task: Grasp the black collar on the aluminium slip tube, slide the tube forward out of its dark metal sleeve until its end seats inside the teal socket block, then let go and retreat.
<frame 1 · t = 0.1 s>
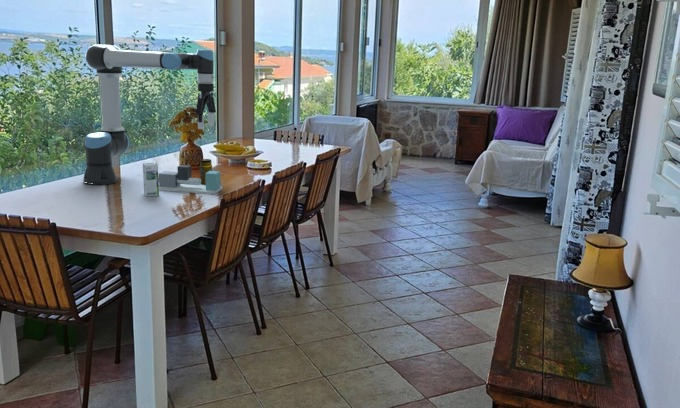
hand: (206, 127, 288), 28 cm above the table, fingers open, 13 cm apart
syrup box: (151, 195, 268), on the table
slip tube: (177, 174, 281), point 7 cm above the table, slide at 0.0 cm
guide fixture: (189, 189, 282), on the table
condiment: (204, 183, 295), on the table
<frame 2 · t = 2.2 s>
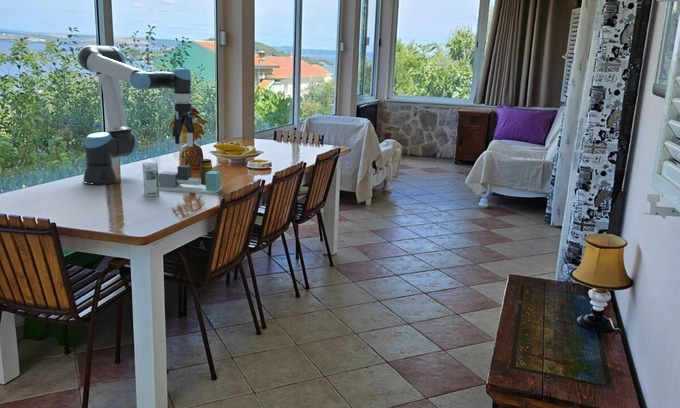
hand: (184, 148, 277), 19 cm above the table, fingers open, 13 cm apart
nothing on the table moved.
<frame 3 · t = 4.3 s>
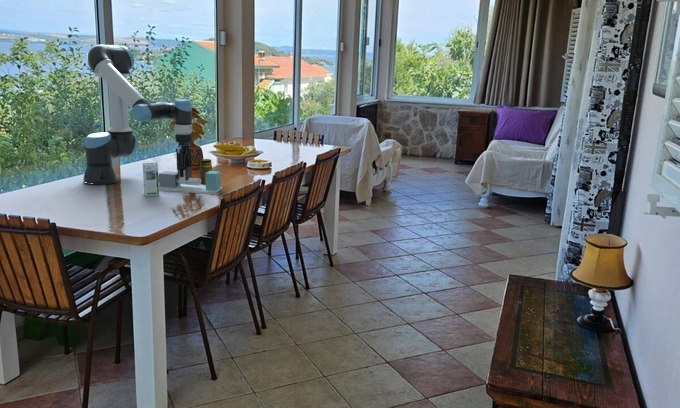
hand: (184, 182, 281), 3 cm above the table, fingers closed on slip tube, 4 cm apart
slip tube: (177, 174, 281), point 7 cm above the table, slide at 0.0 cm, touching gripper
everything else where it was.
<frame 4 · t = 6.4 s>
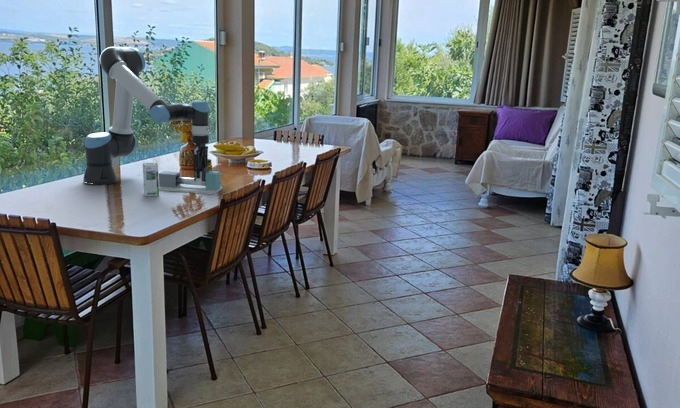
hand: (201, 183, 280), 3 cm above the table, fingers closed on slip tube, 4 cm apart
slip tube: (193, 175, 280), point 7 cm above the table, slide at 8.1 cm, touching gripper
everything else where it was.
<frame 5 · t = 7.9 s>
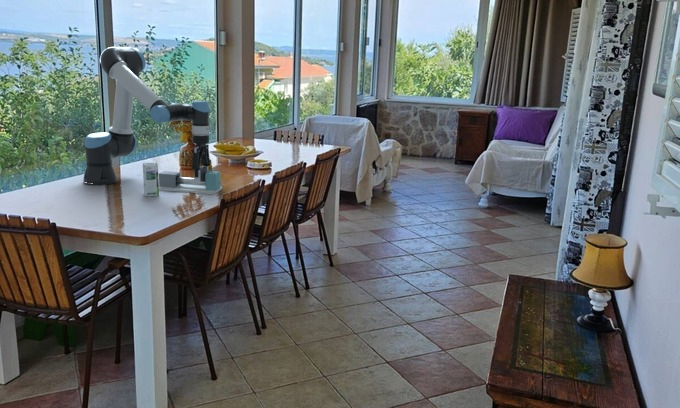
hand: (201, 181, 280), 4 cm above the table, fingers open, 9 cm apart
slip tube: (193, 175, 280), point 7 cm above the table, slide at 8.0 cm
everything else where it was.
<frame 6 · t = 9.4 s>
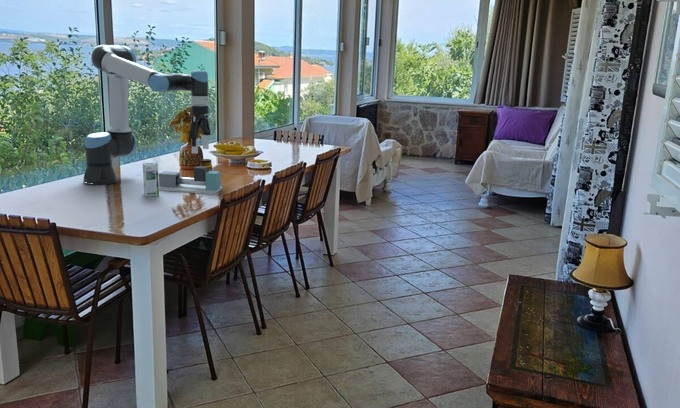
hand: (200, 151, 276), 19 cm above the table, fingers open, 13 cm apart
nothing on the table moved.
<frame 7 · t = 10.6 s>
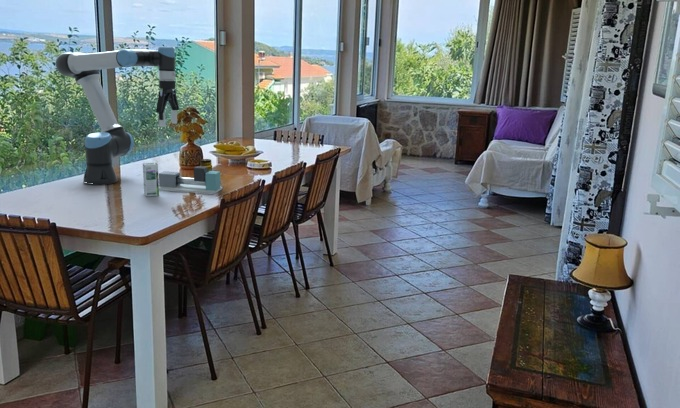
hand: (168, 125, 285), 29 cm above the table, fingers open, 13 cm apart
nothing on the table moved.
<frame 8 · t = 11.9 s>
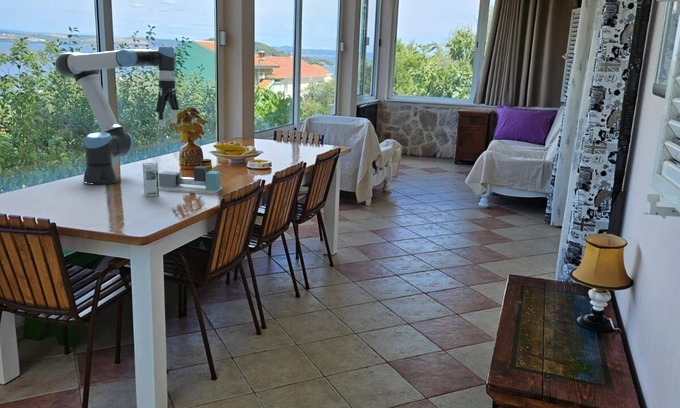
hand: (168, 124, 285), 29 cm above the table, fingers open, 13 cm apart
nothing on the table moved.
at the end: slip tube slide at 8.0 cm; the gripper is holding nothing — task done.
